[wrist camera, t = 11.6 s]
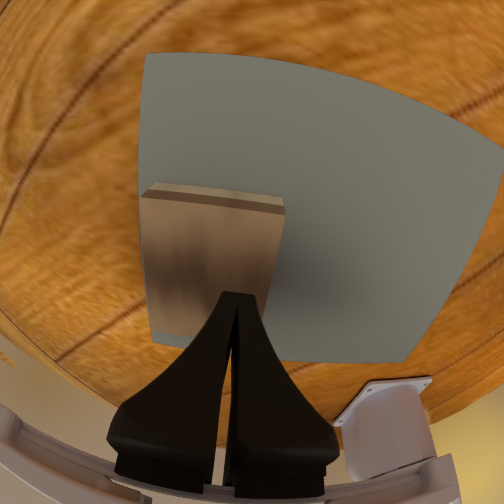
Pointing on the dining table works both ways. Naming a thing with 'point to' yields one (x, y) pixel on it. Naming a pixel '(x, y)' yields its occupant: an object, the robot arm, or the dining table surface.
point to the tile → (205, 250)
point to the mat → (326, 193)
